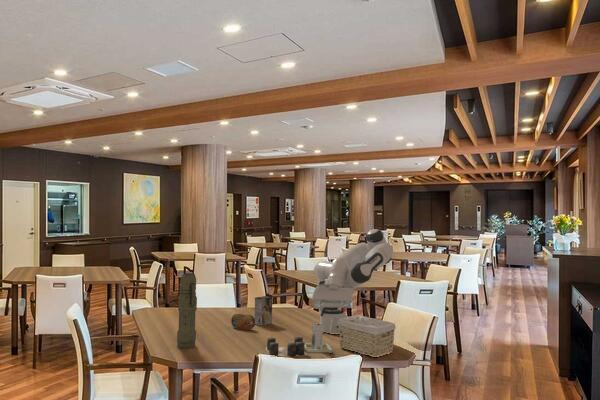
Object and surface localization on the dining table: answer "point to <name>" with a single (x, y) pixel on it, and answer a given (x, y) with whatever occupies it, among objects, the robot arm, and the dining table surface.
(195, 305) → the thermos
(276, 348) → the spacer board
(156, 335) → the dining table surface
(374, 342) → the storage basket
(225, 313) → the dining table surface
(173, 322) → the dining table surface
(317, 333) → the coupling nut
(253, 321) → the tin
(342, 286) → the robot arm
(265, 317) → the coffee box
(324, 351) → the tray
